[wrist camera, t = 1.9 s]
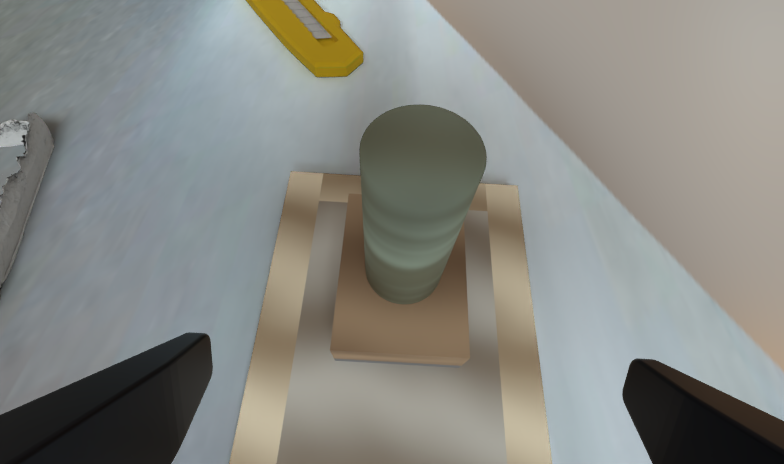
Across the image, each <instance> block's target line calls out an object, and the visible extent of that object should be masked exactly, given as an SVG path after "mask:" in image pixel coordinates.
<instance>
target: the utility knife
mask: <svg viewBox="0 0 784 464" xmlns="http://www.w3.org/2000/svg"><path fill="white" fill-rule="evenodd" d="M246 1H247V2H248V4H249V5H250V6H251V7H252V9H253V10H254V11H255V12H256V13H257V15H258V16H259V17H260V18H261V19H262V21H263V22H264V23H265V24H266V25H267V26H268V27H269V29H270V30H271V31H272V32H273V33H274V34H275V35H276V37H277V38H278V39H279V40H280V41H281V42H282V44H283V45H284V46H285V47H286V48H287V49H288V50H289V51H290V52H291V53H292V54H293V55H294V56H295V57H296V58H297V59H298V60H299V61H300V62H301V63H302V64H303V65H304V66H306V67H307V68H308V69H309V70H310V71H311V72H312V73H313V74H314V75H315V76H316V77H340V76H348V75H349V74H350V73H351V72H352V71H354V70H355V69H356V68H357V67H358V66H359V65H360V64H362V63H363V52H362V51H361V50H360V49H359V47H358V46H357V45H356V44H355V43H354V42H353V41H352V40H351V39H350V38H349V37H348V35H347V34H346V33H345V32H344V31H343V30H342V29H341V28H340V20H339V19H338V18H337V17H336V16H335V15H334V14H331V13H328V12H325V11H324V10H323V9H322V8H321V7H320V6H319V5H318V4H317V3H316V2H315V1H314V0H246Z"/></svg>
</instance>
